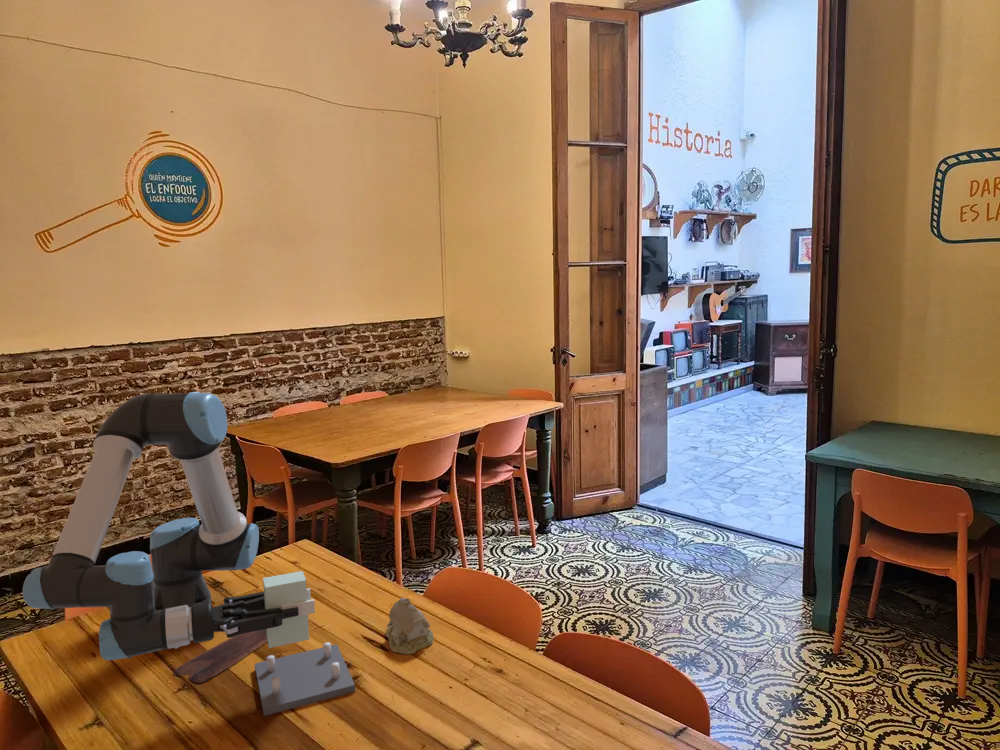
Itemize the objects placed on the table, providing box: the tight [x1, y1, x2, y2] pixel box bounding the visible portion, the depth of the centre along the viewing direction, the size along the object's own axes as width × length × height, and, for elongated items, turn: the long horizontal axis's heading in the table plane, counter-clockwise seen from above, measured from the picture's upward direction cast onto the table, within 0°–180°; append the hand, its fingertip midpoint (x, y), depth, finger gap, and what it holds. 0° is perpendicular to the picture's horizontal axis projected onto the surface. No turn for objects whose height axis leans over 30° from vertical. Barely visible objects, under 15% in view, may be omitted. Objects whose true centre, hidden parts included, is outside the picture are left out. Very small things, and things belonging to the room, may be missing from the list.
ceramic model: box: [385, 597, 434, 655], centre depth 159 cm, size 14×11×10 cm
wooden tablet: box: [173, 629, 268, 685], centre depth 156 cm, size 26×2×10 cm
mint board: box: [262, 570, 310, 649], centre depth 139 cm, size 5×8×13 cm, turn 114°
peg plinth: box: [254, 641, 356, 717], centre depth 143 cm, size 18×18×4 cm
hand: (312, 600), depth 141 cm, fingers closed on mint board, 5 cm apart
